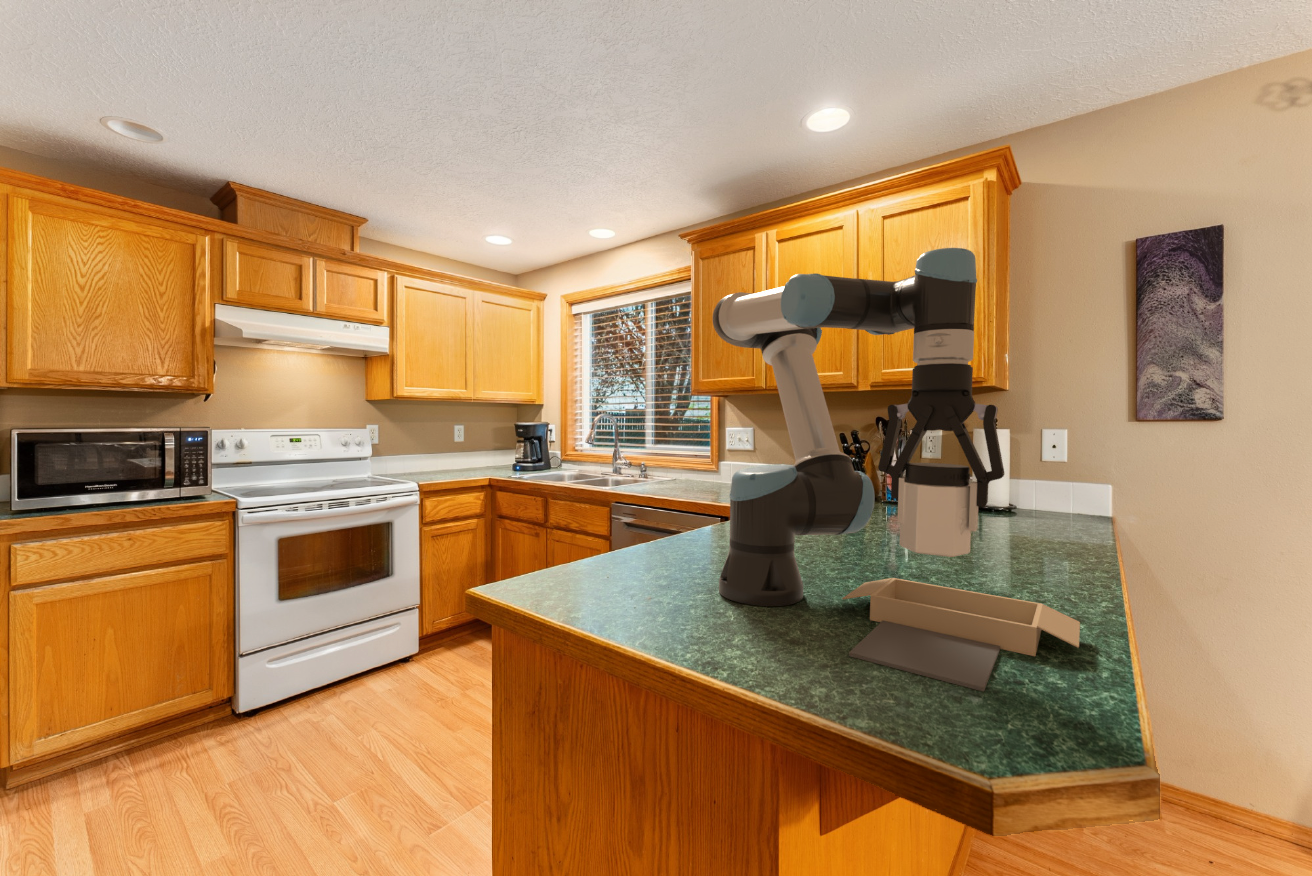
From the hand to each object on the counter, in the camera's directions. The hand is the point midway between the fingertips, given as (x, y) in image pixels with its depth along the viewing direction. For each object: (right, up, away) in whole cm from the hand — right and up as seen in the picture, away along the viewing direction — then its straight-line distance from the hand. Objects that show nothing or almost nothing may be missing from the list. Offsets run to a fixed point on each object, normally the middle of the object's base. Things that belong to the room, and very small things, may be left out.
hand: (936, 525), depth 81 cm
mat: (-2, -17, -1) cm, 18 cm away
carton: (+8, -17, +10) cm, 21 cm away
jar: (0, -4, 0) cm, 4 cm away
